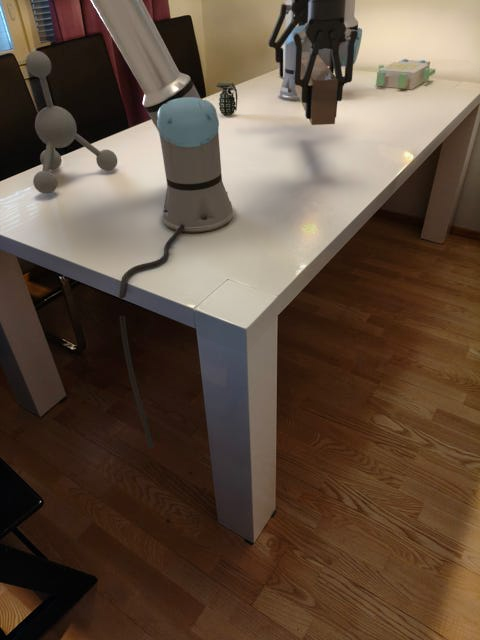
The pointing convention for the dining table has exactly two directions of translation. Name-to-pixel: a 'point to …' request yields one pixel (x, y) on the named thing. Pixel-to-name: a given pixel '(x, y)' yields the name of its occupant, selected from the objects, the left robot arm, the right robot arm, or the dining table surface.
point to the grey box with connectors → (404, 74)
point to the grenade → (227, 99)
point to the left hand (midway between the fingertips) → (320, 116)
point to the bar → (320, 91)
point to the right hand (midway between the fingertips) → (306, 74)
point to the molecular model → (57, 130)
